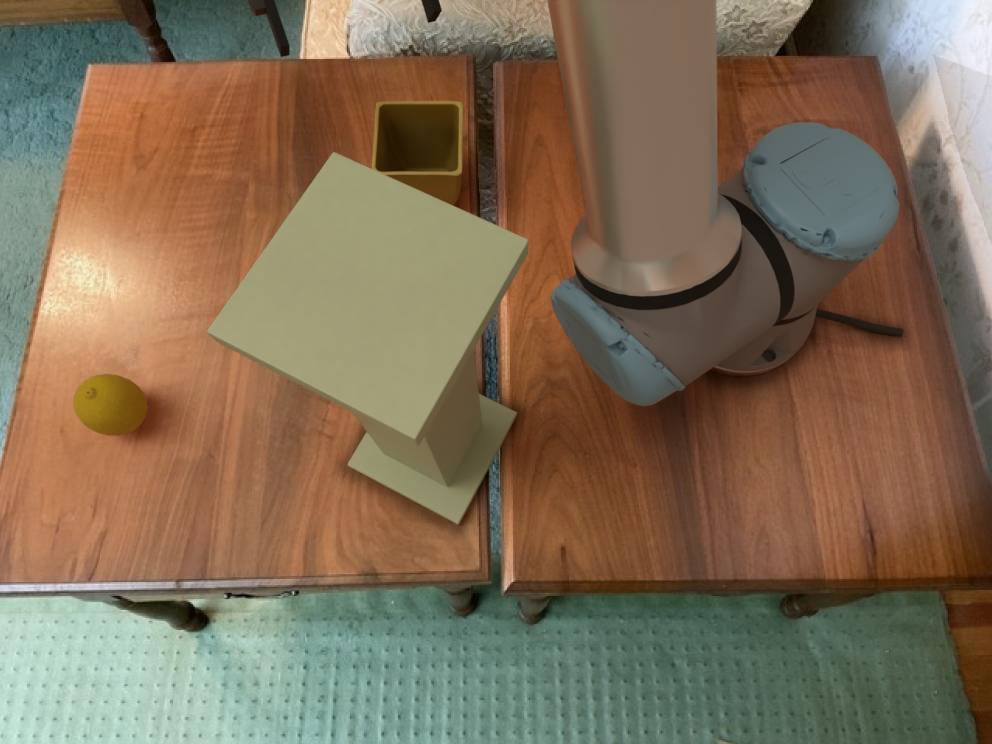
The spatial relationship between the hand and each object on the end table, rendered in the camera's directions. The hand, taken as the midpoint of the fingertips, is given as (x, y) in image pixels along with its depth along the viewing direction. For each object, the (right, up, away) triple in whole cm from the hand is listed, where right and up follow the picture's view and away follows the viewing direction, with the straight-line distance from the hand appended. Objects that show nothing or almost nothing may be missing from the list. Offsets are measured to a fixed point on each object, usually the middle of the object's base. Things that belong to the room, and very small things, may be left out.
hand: (362, 34), depth 61 cm
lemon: (-24, -34, +8) cm, 42 cm away
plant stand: (+6, -36, +7) cm, 37 cm away
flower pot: (+4, -9, +16) cm, 19 cm away
